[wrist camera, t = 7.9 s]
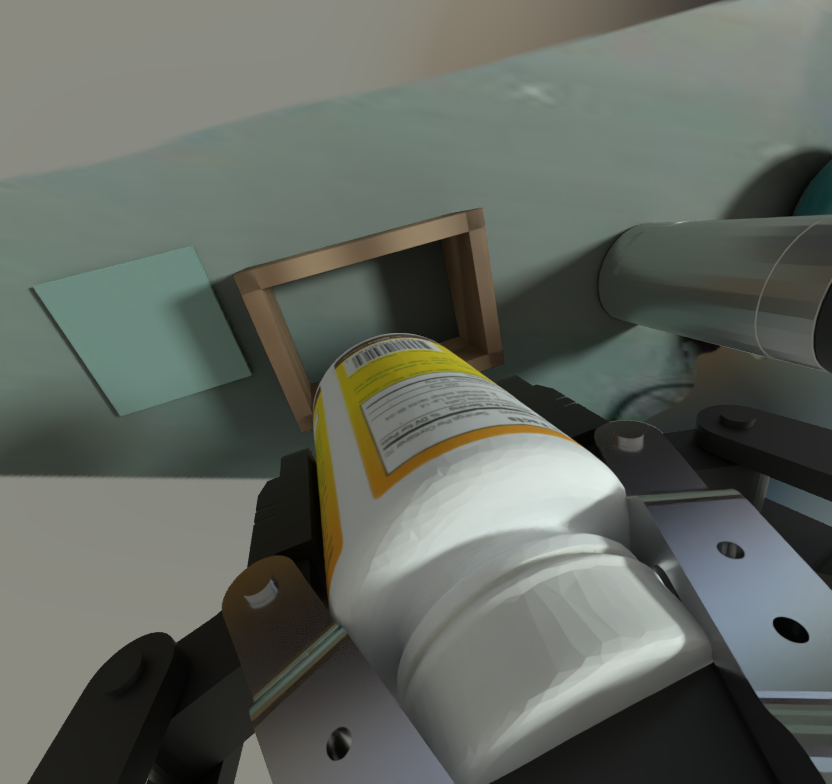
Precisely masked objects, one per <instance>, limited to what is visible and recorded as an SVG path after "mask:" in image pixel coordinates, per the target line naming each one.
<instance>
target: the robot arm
mask: <svg viewBox="0 0 832 784" xmlns="http://www.w3.org/2000/svg"><path fill="white" fill-rule="evenodd" d="M599 296H600V301H601V303H602V305H603V307H604V309H605V310H606V311H607V312H608V314H609V315H611V316H612V317H614V318H616V319H619V320H622V321H626V322H630V323H634V324H638V325H642V326H646V327H649V328H653V329H657V330H661V331H665V332H669V333H673V334H677V335H681V336H685V337H689V338H693V339H697V340H701V341H705V342H709V343H713V344H717V345H721V346H725V347H729V348H733V349H737V350H741V351H745V352H749V353H753V354H757V355H761V356H765V357H768V358H773V359H777V360H781V361H786V362H790V363H793V364H797V365H802V366H805V367H809V368H813V369H817V370H822V371H825V372H830V373H832V215H812V216H791V217H770V218H749V219H728V220H707V221H684V222H663V223H647V224H640V225H638V226H635V227H633V228H631V229H629V230H628V231H626V232H625V233H623V234H622V235H621V236H620V237H619V238H618V239H617V240H616V241H615V243H614V244H613V245H612V247H611V248H610V250H609V251H608V253H607V255H606V257H605V259H604V261H603V264H602V267H601V270H600V276H599ZM495 384H497V385H498V386H499V387H501V388H502V389H504V390H505V391H507V392H508V393H509V394H511V395H512V396H514V397H515V398H516V399H517V400H519V401H520V402H521V403H523V404H524V405H526V406H527V407H528V408H530V409H531V410H532V411H534V412H535V413H537V414H538V415H539V416H541V417H542V418H544V419H545V420H546V421H548V422H549V423H551V424H552V425H553V426H555V427H556V428H557V429H559V430H560V431H562V432H563V433H564V434H566V435H567V436H569V437H570V438H571V439H573V440H574V441H576V442H577V443H578V444H580V445H581V446H582V447H584V448H585V449H586V450H588V451H589V452H591V453H592V454H593V455H594V456H595V457H596V458H598V459H599V460H600V461H601V462H603V463H604V464H605V465H606V466H607V467H608V468H609V469H610V470H611V471H612V472H613V473H614V474H615V475H616V477H617V478H618V479H619V481H620V482H621V484H622V485H623V487H624V488H625V493H626V501H627V507H628V514H629V525H630V541H631V545H630V552H631V553H632V554H633V555H634V556H635V557H636V558H637V559H638V561H639V562H641V563H643V564H645V565H647V566H648V567H650V568H651V569H652V570H653V571H654V572H655V573H656V574H658V575H659V577H660V579H661V580H662V582H663V584H664V585H665V586H666V588H667V589H668V590H669V591H670V592H671V593H672V594H673V595H674V596H675V597H676V598H677V599H678V600H679V601H680V602H681V603H682V604H683V605H684V607H685V608H686V609H687V610H688V611H689V613H690V614H691V615H692V616H693V617H694V619H695V620H696V621H697V622H698V624H699V625H700V626H701V627H702V629H703V630H704V631H705V633H706V635H707V637H708V638H709V640H710V643H711V648H712V659H713V661H714V662H712V663H710V664H709V665H707V666H705V667H703V668H701V669H699V670H697V671H695V672H693V673H691V674H689V675H688V676H686V677H684V678H682V679H680V680H678V681H676V682H675V683H673V684H671V685H669V686H667V687H665V688H663V689H662V690H660V691H658V692H656V693H654V694H652V695H650V696H648V697H646V698H644V699H642V700H640V701H639V702H637V703H635V704H633V705H631V706H629V707H627V708H625V709H624V710H622V711H620V712H618V713H616V714H614V715H613V716H611V717H609V718H607V719H605V720H603V721H602V722H600V723H598V724H596V725H594V726H592V727H590V728H589V729H587V730H585V731H583V732H581V733H579V734H577V735H575V736H574V737H572V738H570V739H568V740H567V741H565V742H563V743H561V744H560V745H558V746H556V747H554V748H553V749H551V750H549V751H547V752H546V753H544V754H542V755H540V756H539V757H537V758H535V759H533V760H532V761H530V762H528V763H526V764H524V765H523V766H521V767H519V768H517V769H516V770H514V771H512V772H510V773H508V774H507V775H505V776H503V777H501V778H499V779H497V780H495V781H493V782H491V783H489V784H832V527H831V526H828V525H826V524H824V523H822V522H819V521H817V520H815V519H813V518H810V517H808V516H806V515H803V514H801V513H799V512H797V511H794V510H792V509H790V508H788V507H785V506H783V505H781V504H778V503H776V502H774V501H772V500H769V499H767V498H765V495H766V491H767V487H768V483H769V478H770V477H771V478H774V479H776V480H779V481H781V482H784V483H787V484H789V485H792V486H794V487H797V488H799V489H801V490H804V491H807V492H809V493H812V494H814V495H816V496H819V497H822V498H824V499H826V500H829V501H832V430H830V429H826V428H823V427H819V426H816V425H812V424H809V423H805V422H802V421H798V420H795V419H791V418H788V417H784V416H780V415H777V414H773V413H770V412H766V411H763V410H759V409H755V408H751V407H747V406H741V405H715V406H711V407H707V408H705V409H703V410H701V411H700V412H699V413H698V414H697V418H696V425H695V429H691V430H684V431H677V432H670V433H664V434H663V433H662V432H661V431H660V430H658V429H657V428H655V427H653V426H651V425H648V424H646V423H642V422H638V421H630V420H621V421H613V422H609V421H607V420H605V419H604V418H602V417H600V416H599V415H597V414H595V413H593V412H592V411H590V410H588V409H587V408H585V407H583V406H582V405H580V404H578V403H577V404H576V403H575V401H573V400H571V399H570V398H568V397H567V398H566V397H565V395H563V394H561V393H560V392H558V391H556V390H554V389H553V388H548V387H544V386H540V385H534V386H532V385H531V384H529V383H527V382H526V381H524V380H523V379H521V378H519V377H518V376H512V377H509V378H506V379H503V380H501V381H498V382H495ZM256 512H257V513H255V519H254V523H255V525H254V527H253V533H252V539H251V546H250V553H249V559H248V566H247V568H246V569H245V570H244V571H243V572H242V573H241V574H240V575H238V576H237V578H236V579H235V580H234V581H233V582H232V584H231V585H230V586H229V588H228V590H227V591H226V593H225V596H224V598H223V602H222V610H221V611H220V612H219V613H218V614H217V615H216V616H214V617H213V618H212V619H210V620H209V621H207V622H206V623H204V624H203V625H202V626H200V627H199V628H197V629H196V630H194V631H193V632H191V633H190V634H188V635H187V636H186V637H184V638H183V639H181V640H180V641H178V642H177V643H176V642H175V641H174V640H173V639H172V637H171V636H170V635H168V634H166V633H163V632H155V633H150V634H147V635H144V636H142V637H140V638H137V639H136V640H134V641H132V642H130V643H129V644H127V645H126V646H125V647H123V648H122V649H120V650H119V651H118V652H117V653H115V654H114V655H113V656H112V657H111V658H110V659H109V660H108V661H107V662H106V663H105V664H104V665H103V666H102V667H101V668H100V669H99V670H98V671H97V673H96V674H95V675H94V676H93V678H92V679H91V680H90V682H89V683H88V685H87V686H86V688H85V689H84V691H83V693H82V694H81V696H80V698H79V699H78V701H77V703H76V704H75V706H74V708H73V709H72V711H71V713H70V714H69V716H68V717H67V719H66V721H65V722H64V724H63V726H62V727H61V729H60V731H59V732H58V734H57V736H56V737H55V739H54V740H53V742H52V744H51V746H50V747H49V749H48V750H47V752H46V754H45V755H44V757H43V759H42V760H41V762H40V764H39V765H38V767H37V768H36V770H35V772H34V773H33V775H32V777H31V779H30V780H29V782H28V783H27V784H234V780H235V777H236V772H237V768H238V764H239V760H240V756H241V751H242V747H243V743H244V742H245V741H246V740H247V739H248V738H249V737H250V736H251V735H253V734H254V733H255V734H256V737H257V740H258V742H259V745H260V748H261V751H262V754H263V757H264V760H265V763H266V766H267V768H268V771H269V774H270V777H271V780H272V783H273V784H455V783H454V782H453V780H452V779H451V778H450V776H449V775H448V773H447V772H446V771H445V769H444V768H443V766H442V765H441V764H440V762H439V761H438V759H437V758H436V757H435V755H434V754H433V752H432V751H431V750H430V748H429V747H428V745H427V743H426V742H425V740H424V739H423V738H422V737H421V735H420V734H419V733H418V731H417V730H416V728H415V727H414V726H413V724H412V723H411V721H410V720H409V719H408V717H407V716H406V714H405V713H404V712H403V710H402V709H401V707H400V706H399V705H398V703H397V702H396V700H395V699H394V698H393V696H392V695H391V693H390V692H389V691H388V689H387V688H386V686H385V685H384V683H383V682H382V681H381V679H380V678H379V676H378V675H377V674H376V672H375V671H374V669H373V668H372V667H371V665H370V664H369V662H368V661H367V660H366V658H365V657H364V655H363V654H362V653H361V651H360V650H359V648H358V647H357V646H356V644H355V643H354V641H353V640H352V639H351V637H350V636H349V634H348V633H347V632H346V630H345V629H344V628H343V627H342V626H341V625H340V626H338V625H337V623H336V622H335V621H334V619H333V618H332V616H331V615H330V613H329V606H328V596H327V584H326V572H325V560H324V548H323V537H322V526H321V512H320V500H319V489H318V477H317V465H316V462H315V460H314V457H313V455H312V453H311V451H310V450H309V448H307V449H304V450H301V451H298V452H295V453H292V454H289V455H287V456H284V457H282V458H281V469H280V477H278V478H275V479H272V480H270V481H267V483H266V485H265V486H264V488H263V489H262V491H261V492H260V494H259V495H258V500H257V506H256ZM147 779H148V781H147ZM146 781H147V783H146Z"/></svg>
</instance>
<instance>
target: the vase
mask: <svg viewBox="0 0 832 784" xmlns="http://www.w3.org/2000/svg"><path fill="white" fill-rule="evenodd" d="M812 215H832V160H830V161H829V162H828V163H827V164H826V165H825V166H824V167H823V168H822V169H821V170H820V171H819V172H818V174H817V175H816V176H815V177H814V178H813V180H812V181H811V182H810V183H809V185H808V186H807V188H806V189H805V191H804V193H803V194H802V196H801V198H800V200H799V202H798V204H797V206H796V208H795V211H794V213H793V216H812Z"/></svg>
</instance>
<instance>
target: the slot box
mask: <svg viewBox="0 0 832 784" xmlns="http://www.w3.org/2000/svg"><path fill="white" fill-rule="evenodd" d="M440 239H441V243H442V248H443V253H444V258H445V264H446V269H447V274H448V279H449V284H450V290H451V295H452V300H453V305H454V311H455V316H456V321H457V326H458V331H459V337H456V338H453V339H450V340H447V341H444V342H441V343H439V344H440V345H442V346H444V347H446V348H447V349H448V350H450V351H451V352H452V353H453V354H455V355H456V356H458V357H459V358H461V359H462V360H463V361H465V362H466V363H468V364H469V365H470V366H472V367H473V368H475V369H476V370H477V371H479V372H481V371H484V370H487V369H490V368H493V367H496V366H499V365H502V364H504V357H503V350H502V343H501V336H500V329H499V322H498V314H497V307H496V300H495V293H494V286H493V279H492V272H491V265H490V258H489V251H488V244H487V236H486V229H485V222H484V215H483V208H477V209H472V210H466V211H461V212H455V213H450V214H446V215H443V216H439V217H435V218H431V219H428V220H424V221H420V222H417V223H413V224H409V225H405V226H402V227H398V228H394V229H390V230H387V231H383V232H379V233H376V234H372V235H368V236H364V237H361V238H357V239H353V240H350V241H346V242H342V243H338V244H335V245H331V246H327V247H324V248H320V249H316V250H312V251H309V252H305V253H301V254H297V255H294V256H290V257H286V258H283V259H279V260H275V261H271V262H268V263H264V264H260V265H257V266H253V267H249V268H246V269H244V270H242V271H240V272H238V273H236V274H234V275H233V278H234V280H235V282H236V285H237V287H238V289H239V291H240V294H241V296H242V298H243V300H244V303H245V305H246V307H247V310H248V312H249V314H250V316H251V319H252V321H253V323H254V326H255V328H256V330H257V332H258V335H259V337H260V339H261V342H262V344H263V346H264V348H265V351H266V353H267V355H268V358H269V360H270V362H271V364H272V367H273V369H274V371H275V373H276V376H277V378H278V380H279V383H280V385H281V387H282V389H283V392H284V394H285V396H286V399H287V401H288V403H289V405H290V408H291V410H292V412H293V415H294V417H295V419H296V421H297V424H298V426H299V428H300V430H301V433H304V432H307V431H310V430H313V404H314V399H315V395H316V392H317V389H318V387H319V384H320V382H318V383H315V384H312V385H310V382H309V380H308V377H307V375H306V372H305V370H304V367H303V365H302V362H301V360H300V357H299V354H298V352H297V349H296V347H295V344H294V342H293V339H292V337H291V334H290V332H289V329H288V327H287V324H286V322H285V319H284V317H283V314H282V312H281V309H280V307H279V304H278V302H277V299H276V297H275V294H274V292H273V289H272V286H275V285H279V284H282V283H286V282H289V281H293V280H297V279H300V278H304V277H307V276H311V275H315V274H318V273H322V272H325V271H329V270H332V269H336V268H340V267H343V266H347V265H350V264H354V263H357V262H361V261H365V260H368V259H372V258H375V257H379V256H383V255H386V254H390V253H393V252H397V251H400V250H404V249H408V248H411V247H415V246H418V245H422V244H426V243H429V242H433V241H436V240H440Z"/></svg>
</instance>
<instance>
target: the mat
mask: <svg viewBox="0 0 832 784" xmlns="http://www.w3.org/2000/svg"><path fill="white" fill-rule="evenodd" d="M33 288H34V289H35V291H36V292H37V294H38V295H39V297H40V298H41V300H42V301H43V303H44V304H45V306H46V307H47V309H48V310H49V312H50V313H51V315H52V316H53V317H54V319H55V320H56V322H57V323H58V325H59V326H60V328H61V329H62V331H63V332H64V334H65V335H66V337H67V338H68V340H69V341H70V343H71V344H72V346H73V347H74V349H75V350H76V351H77V353H78V354H79V356H80V357H81V359H82V360H83V362H84V363H85V365H86V366H87V368H88V369H89V371H90V372H91V374H92V375H93V377H94V378H95V380H96V381H97V383H98V384H99V385H100V387H101V388H102V390H103V391H104V393H105V394H106V396H107V397H108V399H109V400H110V402H111V403H112V405H113V406H114V408H115V409H116V411H117V412H118V414H119V415H120V417H121V416H124V415H127V414H131V413H134V412H137V411H140V410H143V409H147V408H150V407H153V406H156V405H159V404H162V403H166V402H169V401H172V400H175V399H178V398H182V397H185V396H188V395H191V394H194V393H198V392H201V391H204V390H207V389H210V388H213V387H217V386H220V385H223V384H226V383H229V382H233V381H236V380H239V379H242V378H245V377H249V376H252V374H253V373H252V371H251V369H250V367H249V365H248V363H247V360H246V358H245V356H244V354H243V352H242V350H241V348H240V345H239V343H238V341H237V339H236V337H235V335H234V333H233V331H232V328H231V326H230V324H229V322H228V320H227V318H226V316H225V313H224V311H223V309H222V307H221V305H220V303H219V301H218V298H217V296H216V294H215V292H214V290H213V288H212V286H211V284H210V281H209V279H208V277H207V275H206V273H205V271H204V269H203V266H202V264H201V262H200V260H199V258H198V256H197V254H196V251H195V249H194V247H193V246H189V247H185V248H181V249H177V250H173V251H169V252H165V253H161V254H157V255H153V256H149V257H145V258H141V259H137V260H133V261H130V262H126V263H122V264H118V265H114V266H110V267H106V268H102V269H98V270H94V271H90V272H86V273H82V274H78V275H74V276H70V277H67V278H63V279H59V280H55V281H51V282H47V283H43V284H39V285H35V286H33Z"/></svg>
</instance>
